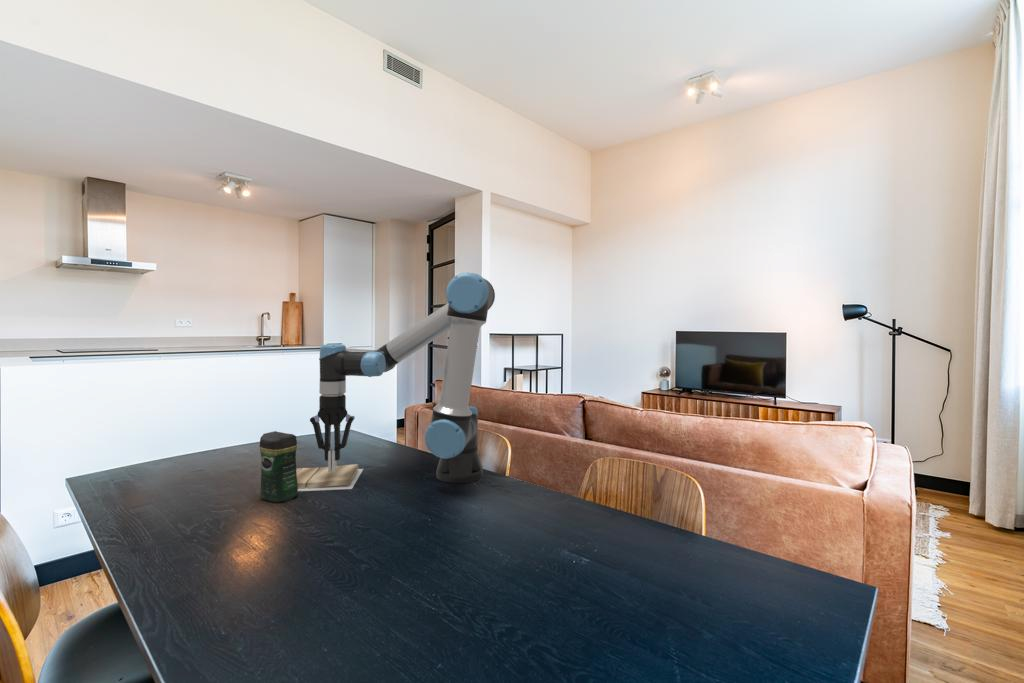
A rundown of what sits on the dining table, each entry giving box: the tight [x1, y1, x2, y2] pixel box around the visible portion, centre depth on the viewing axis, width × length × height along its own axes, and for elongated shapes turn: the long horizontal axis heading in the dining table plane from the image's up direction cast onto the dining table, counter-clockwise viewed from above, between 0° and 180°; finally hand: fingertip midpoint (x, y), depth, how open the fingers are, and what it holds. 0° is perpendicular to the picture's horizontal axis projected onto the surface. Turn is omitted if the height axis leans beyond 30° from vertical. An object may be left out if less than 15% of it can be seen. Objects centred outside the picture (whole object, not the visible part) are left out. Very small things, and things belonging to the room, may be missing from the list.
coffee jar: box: [259, 430, 299, 503], centre depth 131 cm, size 10×8×19 cm
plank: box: [307, 463, 359, 488], centre depth 147 cm, size 12×16×2 cm
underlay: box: [298, 468, 364, 492], centre depth 147 cm, size 25×20×1 cm
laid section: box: [296, 467, 320, 489], centre depth 145 cm, size 11×16×2 cm
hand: (332, 470), depth 143 cm, fingers closed
